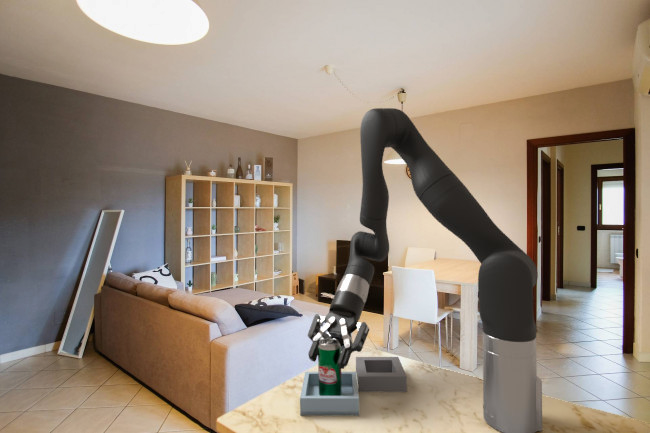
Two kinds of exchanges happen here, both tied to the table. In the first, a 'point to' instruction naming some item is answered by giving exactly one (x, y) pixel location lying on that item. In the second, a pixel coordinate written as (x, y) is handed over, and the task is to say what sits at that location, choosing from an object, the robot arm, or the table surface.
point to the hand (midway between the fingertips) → (325, 363)
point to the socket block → (380, 374)
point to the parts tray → (329, 397)
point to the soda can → (329, 367)
